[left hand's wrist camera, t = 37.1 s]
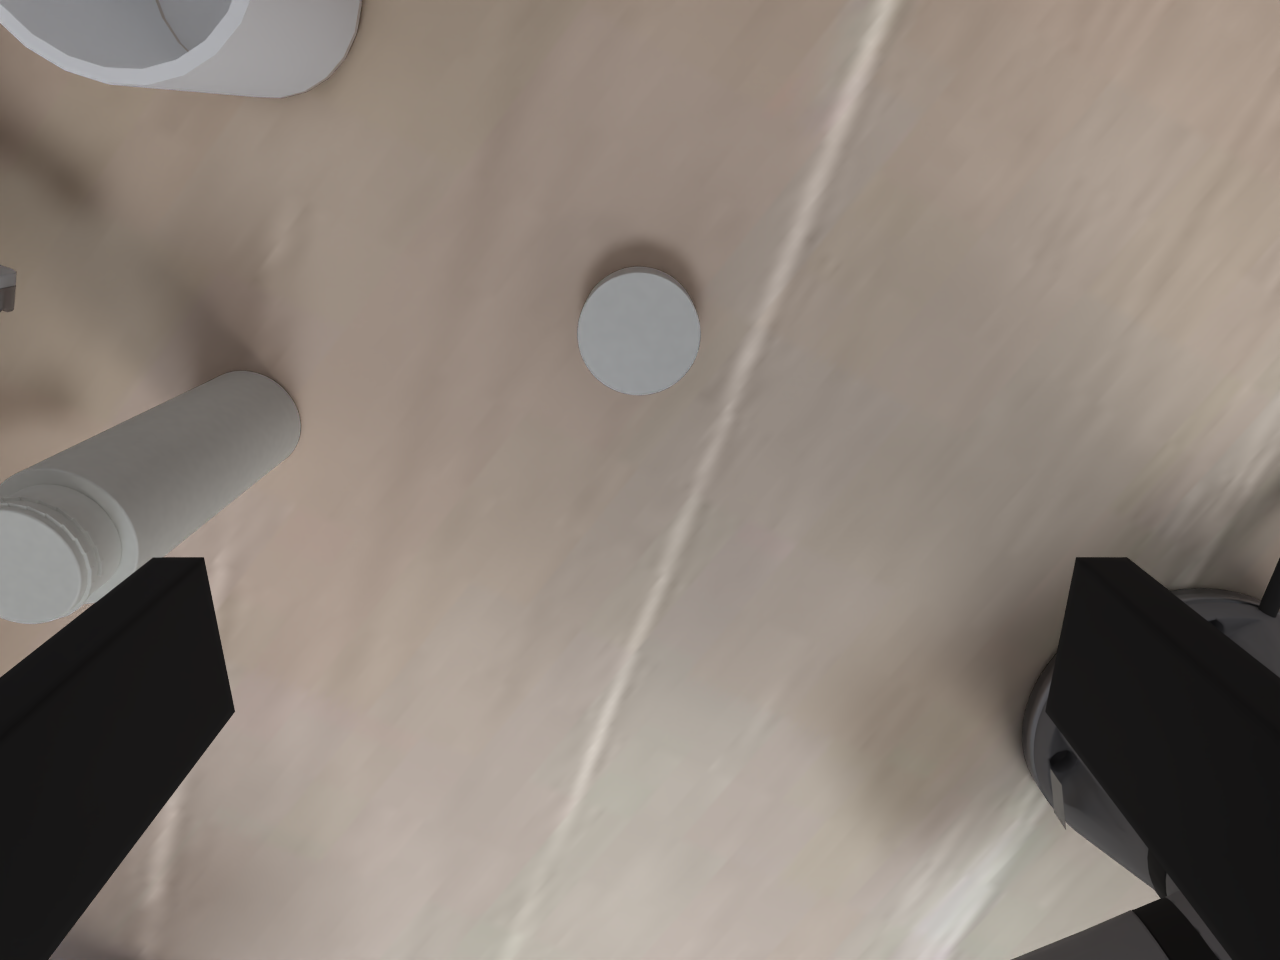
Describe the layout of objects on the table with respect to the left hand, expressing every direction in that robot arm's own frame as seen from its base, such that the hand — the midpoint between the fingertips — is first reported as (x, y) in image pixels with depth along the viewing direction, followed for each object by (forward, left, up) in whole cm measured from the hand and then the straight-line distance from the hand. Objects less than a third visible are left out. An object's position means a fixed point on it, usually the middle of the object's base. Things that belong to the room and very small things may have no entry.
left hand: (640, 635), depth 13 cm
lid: (0, 0, -24) cm, 24 cm away
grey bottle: (+14, -12, -26) cm, 32 cm away
